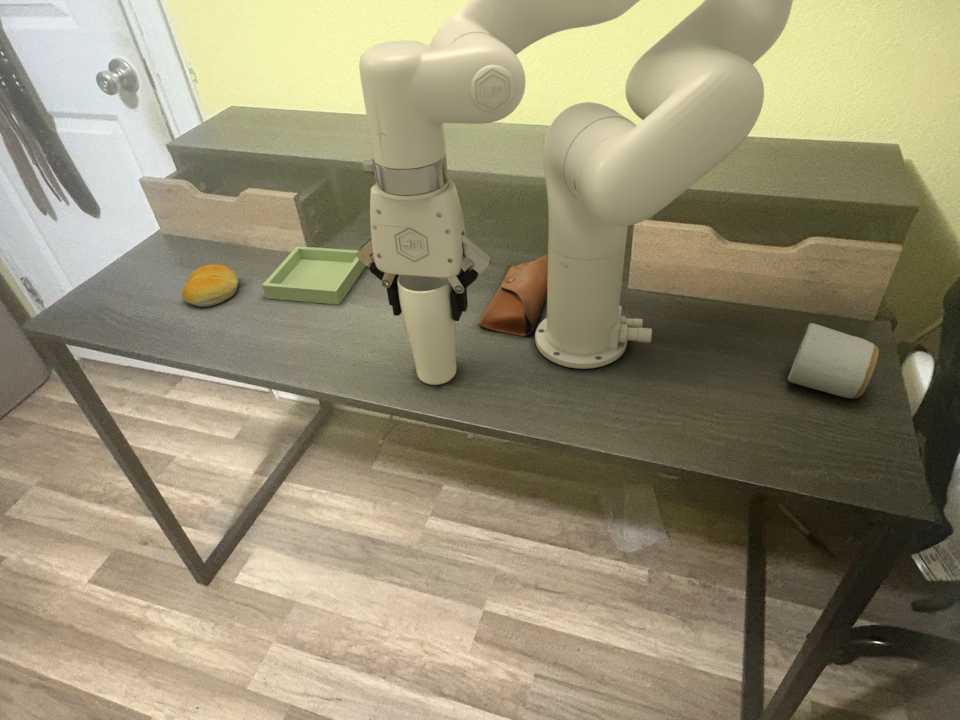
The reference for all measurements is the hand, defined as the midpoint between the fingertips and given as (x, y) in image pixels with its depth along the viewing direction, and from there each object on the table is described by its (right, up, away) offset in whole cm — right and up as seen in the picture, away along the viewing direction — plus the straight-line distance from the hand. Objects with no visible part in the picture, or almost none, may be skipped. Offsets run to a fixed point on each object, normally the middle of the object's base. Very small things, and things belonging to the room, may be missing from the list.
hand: (429, 311), depth 78 cm
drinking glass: (+1, -8, +6) cm, 10 cm away
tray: (-20, +7, +27) cm, 34 cm away
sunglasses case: (+12, +3, +19) cm, 23 cm away
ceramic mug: (+49, -8, +2) cm, 50 cm away
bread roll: (-37, +5, +25) cm, 45 cm away
